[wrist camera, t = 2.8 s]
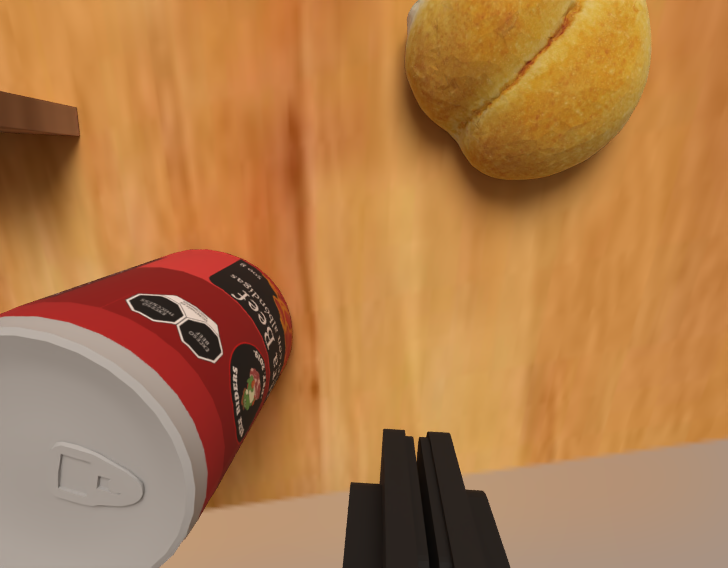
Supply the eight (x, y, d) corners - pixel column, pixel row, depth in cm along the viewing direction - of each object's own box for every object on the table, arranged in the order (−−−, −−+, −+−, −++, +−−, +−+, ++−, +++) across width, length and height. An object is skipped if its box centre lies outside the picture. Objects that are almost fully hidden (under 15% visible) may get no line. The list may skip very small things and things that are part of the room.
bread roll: (514, 214, 19) (544, 224, 15) (373, 62, 18) (366, 31, 14) (675, 68, 17) (756, 37, 13) (528, -112, 16) (570, -203, 12)
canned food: (300, 394, 22) (211, 605, 11) (150, 390, 22) (-74, 587, 12) (293, 245, 20) (176, 327, 9) (129, 245, 20) (-162, 322, 10)
